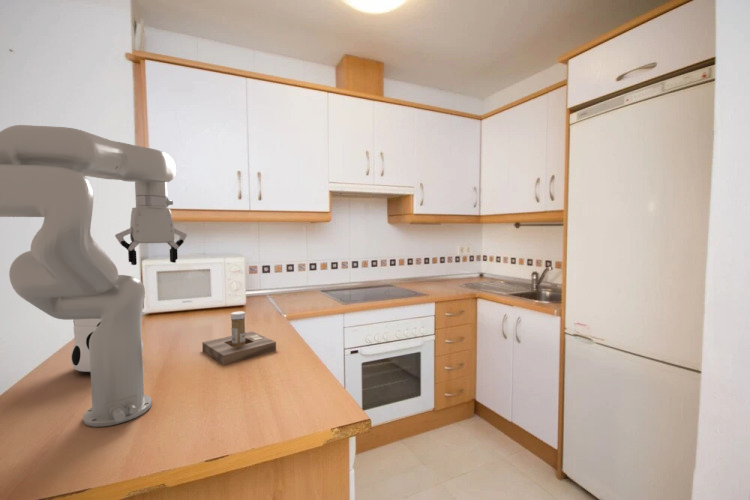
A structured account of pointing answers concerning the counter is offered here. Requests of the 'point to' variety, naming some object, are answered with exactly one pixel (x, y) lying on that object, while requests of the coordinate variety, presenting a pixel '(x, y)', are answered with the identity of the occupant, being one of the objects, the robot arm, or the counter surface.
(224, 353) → the socket board
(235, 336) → the sprinkles bottle
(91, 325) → the milk container
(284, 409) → the counter surface
